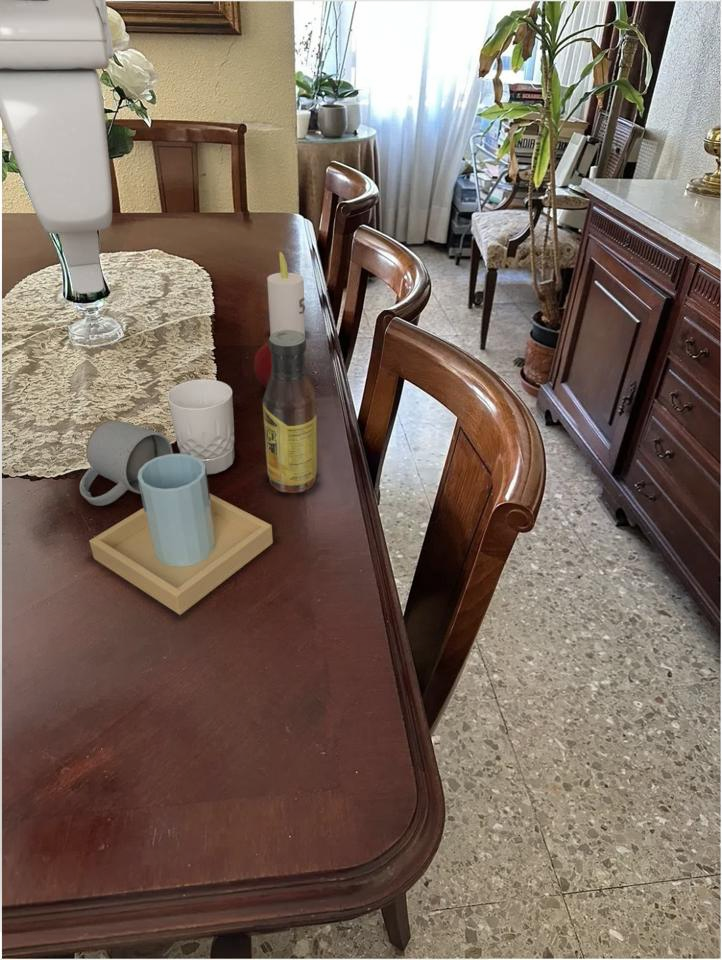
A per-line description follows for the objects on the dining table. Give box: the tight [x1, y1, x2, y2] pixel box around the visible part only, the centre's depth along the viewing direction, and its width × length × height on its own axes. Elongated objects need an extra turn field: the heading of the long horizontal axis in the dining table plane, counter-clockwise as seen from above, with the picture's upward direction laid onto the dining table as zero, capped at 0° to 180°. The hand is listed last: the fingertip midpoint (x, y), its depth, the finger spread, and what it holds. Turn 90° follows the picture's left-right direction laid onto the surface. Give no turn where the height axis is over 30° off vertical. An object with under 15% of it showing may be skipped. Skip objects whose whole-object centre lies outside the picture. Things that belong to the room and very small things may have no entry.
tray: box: [88, 492, 274, 616], centre depth 72 cm, size 14×14×3 cm
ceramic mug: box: [79, 420, 174, 507], centre depth 80 cm, size 11×8×8 cm
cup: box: [137, 453, 215, 567], centre depth 69 cm, size 7×7×10 cm
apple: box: [253, 341, 272, 389], centre depth 102 cm, size 8×8×8 cm
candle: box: [266, 251, 306, 337], centre depth 117 cm, size 6×6×15 cm
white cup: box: [166, 378, 236, 475], centre depth 84 cm, size 8×8×10 cm
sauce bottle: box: [262, 330, 318, 494], centre depth 78 cm, size 7×6×20 cm
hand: (81, 267), depth 45 cm, fingers open, 8 cm apart
